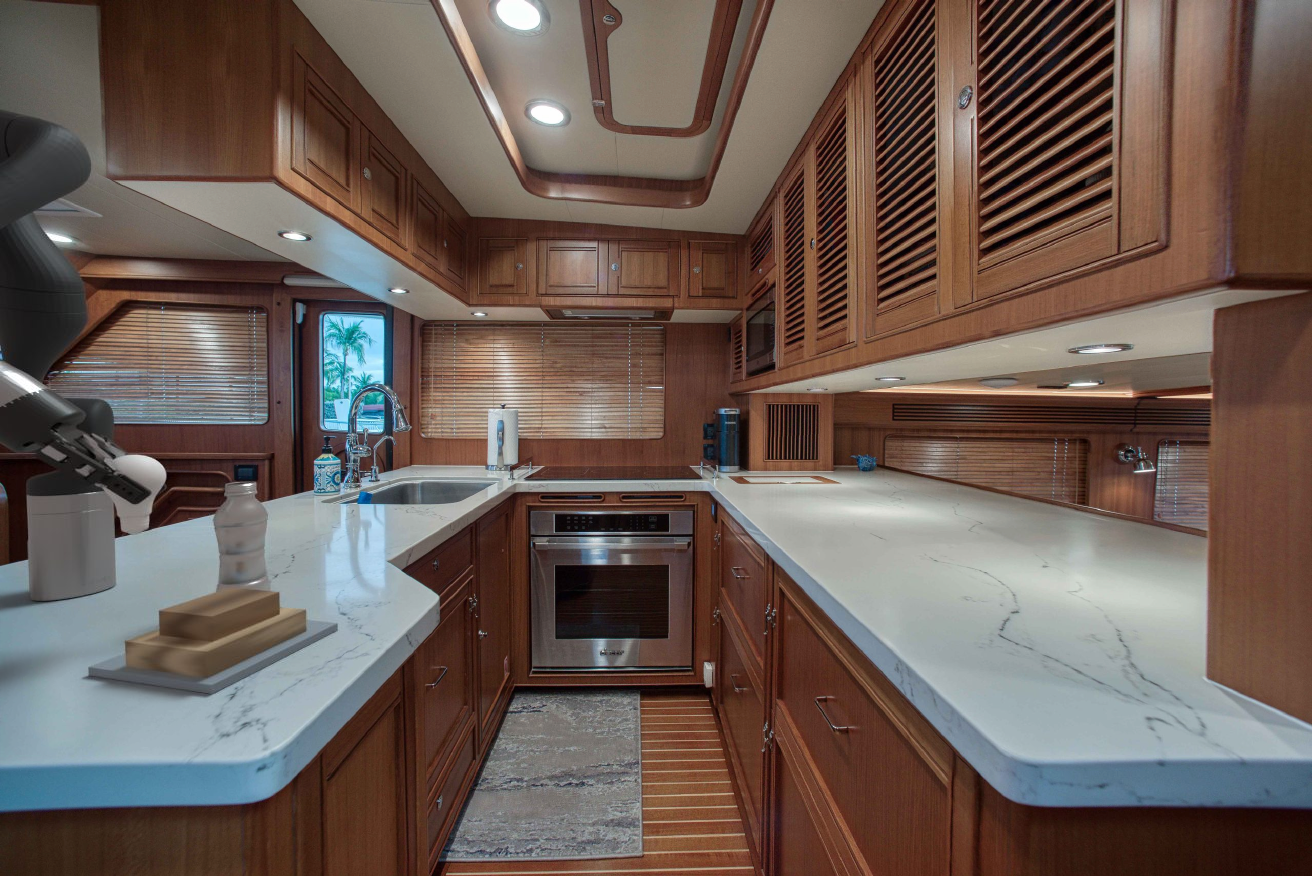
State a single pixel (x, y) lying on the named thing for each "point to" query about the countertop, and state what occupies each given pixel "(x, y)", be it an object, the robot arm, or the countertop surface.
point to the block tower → (215, 632)
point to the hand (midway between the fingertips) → (152, 495)
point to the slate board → (120, 671)
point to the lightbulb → (148, 476)
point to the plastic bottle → (241, 539)
